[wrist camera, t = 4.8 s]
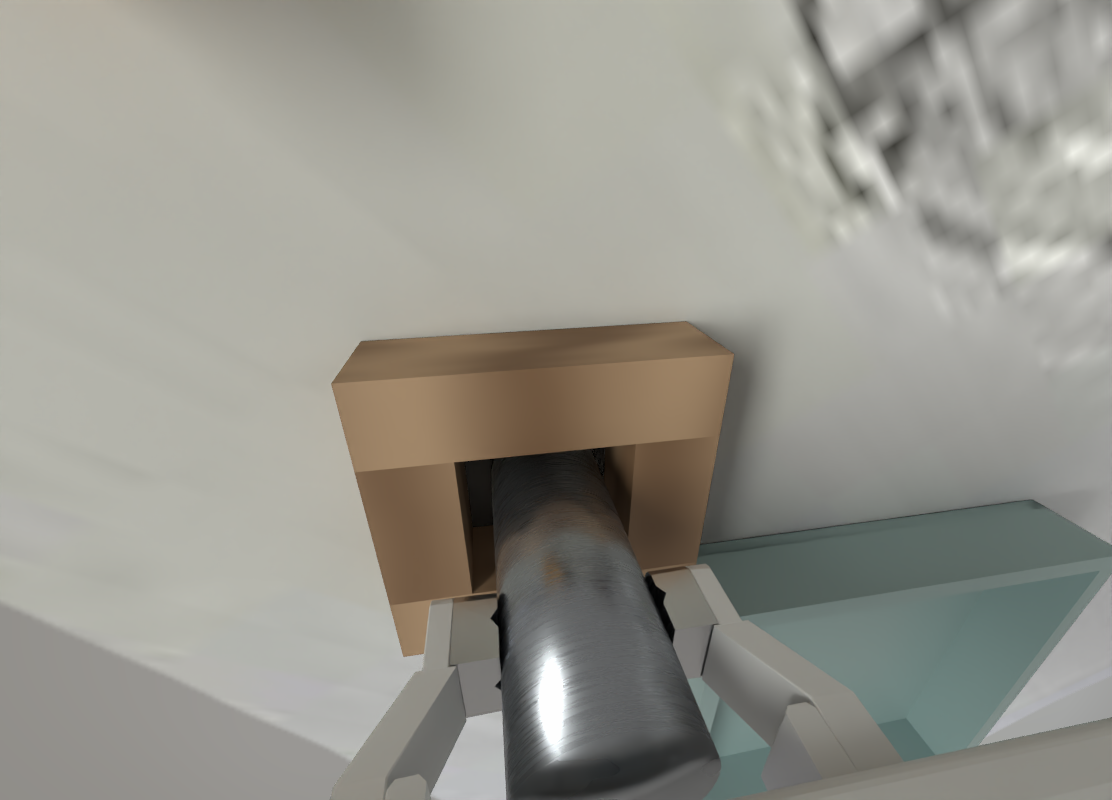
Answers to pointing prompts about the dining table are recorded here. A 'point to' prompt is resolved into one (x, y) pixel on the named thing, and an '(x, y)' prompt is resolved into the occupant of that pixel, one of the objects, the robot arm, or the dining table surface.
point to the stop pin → (585, 647)
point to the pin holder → (526, 442)
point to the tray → (908, 619)
